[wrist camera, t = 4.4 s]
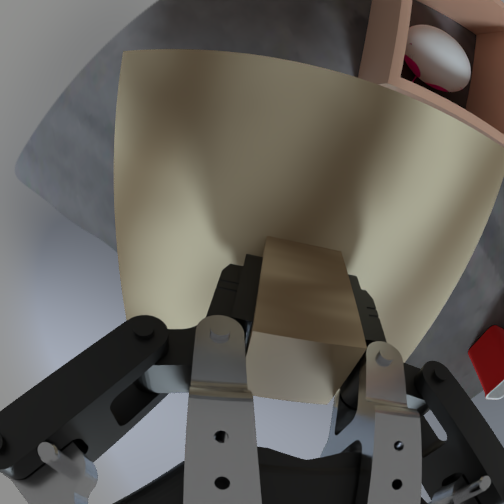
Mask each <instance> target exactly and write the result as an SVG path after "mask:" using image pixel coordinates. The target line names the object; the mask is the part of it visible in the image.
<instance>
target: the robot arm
mask: <svg viewBox="0 0 504 504" xmlns="http://www.w3.org/2000/svg"><path fill="white" fill-rule="evenodd" d="M262 261H263V257H260V256H256V255H251V254H246V257H245V261H244V265H243V266H240V265H235V264H229V265H228V266H227V267H225V268H224V269H223V270H222V272H221V275H220V278H219V281H218V283H217V286H216V289H215V292H214V295H213V298H212V301H211V303H210V306H209V309H208V312H207V315H206V317H205V318H204V319H202V320H201V321H200V322H199V323H198V325H196V326H194V327H191V328H187V329H167V326H166V324H165V323H164V322H163V321H162V320H160V319H159V318H157V317H154V316H150V315H139V316H135V317H132V318H130V319H129V320H127V321H126V322H124V323H123V324H121V325H120V326H118V327H117V328H116V329H115V330H113V331H111V332H110V333H108V334H107V335H106V336H104V337H103V338H101V339H100V340H99V341H97V342H96V343H94V344H93V345H91V346H90V347H89V348H87V349H86V350H84V351H83V352H82V353H80V354H79V355H77V356H76V357H75V358H73V359H72V360H70V361H69V362H68V363H66V364H65V365H63V366H62V367H61V368H59V369H58V370H57V371H55V372H54V373H52V374H51V375H49V376H48V377H47V378H45V379H44V380H42V381H41V382H40V383H38V384H37V385H36V386H34V387H33V388H31V389H30V390H29V391H27V392H26V393H25V394H23V395H22V396H20V397H19V398H18V399H16V400H15V401H14V402H12V403H11V404H10V405H8V406H7V407H6V408H4V409H3V410H2V411H0V472H1V473H3V474H4V475H5V476H7V477H8V478H9V479H11V480H12V481H13V483H14V484H15V486H16V487H17V488H18V490H19V491H20V493H21V494H22V495H23V496H24V498H25V499H26V500H27V502H28V503H29V504H88V498H89V495H90V493H91V491H92V490H93V489H94V487H95V486H96V483H97V480H98V474H97V470H96V467H95V465H94V463H93V462H94V461H95V460H97V459H98V458H99V457H100V456H101V455H102V454H103V453H104V452H106V451H107V450H108V449H109V448H110V447H111V446H113V445H114V444H115V443H116V442H117V441H118V440H119V439H120V438H121V437H123V435H125V434H126V433H127V432H128V431H129V430H130V429H131V428H132V427H133V426H135V425H136V424H137V423H138V422H139V421H140V420H141V419H142V418H143V417H144V416H146V415H147V414H148V413H149V412H150V411H151V410H152V409H153V408H154V407H155V406H156V405H157V404H158V403H159V402H160V401H161V400H162V399H163V398H165V397H166V396H167V395H168V394H169V393H187V392H189V399H188V412H187V427H186V444H185V461H183V462H181V463H180V464H178V465H177V466H175V467H174V468H172V469H171V470H169V471H168V472H166V473H165V474H163V475H161V476H160V477H158V478H157V479H155V480H153V481H152V482H150V483H149V484H147V485H145V486H144V487H142V488H140V489H139V490H137V491H135V492H133V493H131V494H130V495H128V496H126V497H124V498H123V499H121V500H119V501H117V502H115V503H113V504H427V503H426V502H425V501H424V499H423V498H422V497H421V483H422V485H423V486H424V488H425V490H426V491H427V493H428V495H429V497H430V498H431V500H432V501H431V502H429V503H428V504H504V448H503V446H502V445H501V443H500V442H499V440H498V439H497V437H496V435H495V434H494V432H493V431H492V429H491V428H490V426H489V425H488V423H487V422H486V421H485V419H484V418H483V416H482V415H481V413H480V412H479V410H478V409H477V407H476V406H475V405H474V403H473V402H472V401H471V399H470V398H469V396H468V395H467V394H466V392H465V391H464V390H463V388H462V387H461V386H460V384H459V383H458V382H457V380H456V379H455V378H454V376H453V375H452V374H451V372H450V371H449V370H448V369H447V368H446V367H445V366H444V365H443V364H441V363H439V362H436V361H429V362H427V363H426V364H425V365H424V366H423V367H422V368H421V369H419V368H417V367H414V366H411V365H408V364H406V363H403V359H402V356H401V354H400V352H399V351H398V350H397V349H396V348H395V347H394V346H392V345H391V344H389V343H387V341H386V338H385V335H384V331H383V328H382V325H381V322H380V318H378V316H379V315H378V312H377V310H376V306H375V303H374V300H373V298H372V297H371V296H370V295H369V293H368V292H367V291H366V290H362V289H361V287H360V284H359V281H358V278H357V276H355V275H350V274H348V276H349V279H350V283H351V287H352V290H353V294H354V298H355V301H356V305H357V309H358V313H359V317H360V321H361V325H362V329H363V333H364V337H365V342H366V346H367V349H366V350H365V352H364V354H363V355H362V357H361V358H360V360H359V361H358V363H357V364H356V366H355V367H354V369H353V370H352V371H351V373H350V374H349V376H348V377H347V379H346V380H345V381H344V383H343V384H342V386H341V387H340V388H339V390H338V391H337V392H336V394H335V397H334V405H333V412H332V419H331V426H330V432H329V438H328V441H327V444H326V445H325V447H324V449H323V451H322V454H321V457H320V458H316V459H311V460H304V459H300V458H297V457H293V456H290V455H287V454H284V453H281V452H278V451H275V450H272V449H269V448H263V447H257V443H256V442H257V441H256V429H255V416H254V404H253V395H252V391H251V390H248V386H247V372H246V356H245V353H246V349H247V344H248V340H249V336H250V332H251V328H252V324H253V319H254V313H255V307H256V300H257V294H258V287H259V280H260V274H261V267H262ZM430 409H431V411H432V412H433V414H434V415H435V417H436V418H437V420H438V421H439V423H440V424H441V425H442V427H443V429H444V430H445V432H446V434H447V440H446V441H441V440H439V439H438V437H437V436H436V434H435V433H434V431H433V430H432V428H431V427H430V425H429V423H428V422H427V421H426V419H425V417H424V416H423V415H424V414H425V413H427V412H428V411H429V410H430Z"/></svg>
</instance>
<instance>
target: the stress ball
mask: <svg viewBox="0 0 504 504" xmlns="http://www.w3.org/2000/svg"><path fill="white" fill-rule="evenodd" d="M404 60H405V62H406V63H407V65H408V66H409V68H410V69H411V70H412V72H413V73H414V74H415V75H416V76H415V77H414V79H413V81H412V82H414V80H415V79H416V78H417V77H418V78H419V79H420V80H422V81H423V82H424V83H426V84H427V85H429V86H431V87H433V88H435V89H437V90H440V91H444V92H456V91H460V90H462V89H463V88H464V87H465V86H466V85H467V84H468V82H469V80H470V76H471V67H470V63H469V60H468V57H467V55H466V53H465V51H464V50H463V48H462V47H461V46H460V44H459V43H458V42H457V41H456V40H455V39H454V38H453V37H451V36H450V35H449V34H447V33H446V32H444V31H443V30H441V29H439V28H436V27H433V26H429V25H415V26H412V27H410V28H409V31H408V37H407V44H406V50H405V55H404Z"/></svg>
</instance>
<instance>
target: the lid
mask: <svg viewBox="0 0 504 504" xmlns="http://www.w3.org/2000/svg"><path fill="white" fill-rule="evenodd" d="M503 177H504V148H503V147H502V146H500V145H499V144H497V143H496V142H494V141H493V140H491V139H490V138H488V137H486V136H485V135H483V134H482V133H480V132H478V131H477V130H475V129H473V128H471V127H470V126H468V125H466V124H464V123H463V122H461V121H459V120H457V119H455V118H453V117H451V116H449V115H447V114H445V113H444V112H442V111H439V110H437V109H435V108H433V107H431V106H429V105H427V104H425V103H422V102H420V101H418V100H416V99H413V98H411V97H409V96H406V95H404V94H401V93H399V92H396V91H394V90H391V89H389V88H386V87H383V86H380V85H378V84H375V83H372V82H369V81H366V80H363V79H360V78H357V77H354V76H350V75H347V74H344V73H340V72H336V71H333V70H329V69H325V68H321V67H317V66H313V65H309V64H304V63H300V62H295V61H290V60H284V59H279V58H273V57H267V56H260V55H253V54H245V53H236V52H226V51H213V50H194V49H153V50H133V51H123V57H122V64H121V71H120V79H119V87H118V97H117V108H116V122H115V141H114V205H115V225H116V239H117V251H118V260H119V270H120V279H121V286H122V293H123V300H124V307H125V313H126V319H127V320H129V319H130V318H132V317H135V316H139V315H150V316H154V317H157V318H159V319H160V320H162V321H163V322H164V323H165V324H166V326H167V329H187V328H191V327H194V326H196V325H198V323H199V322H200V321H201V320H202V319H204V318H205V317H206V315H207V312H208V309H209V306H210V303H211V301H212V298H213V295H214V292H215V289H216V286H217V283H218V281H219V278H220V275H221V272H222V270H223V269H224V268H225V267H227V266H228V265H229V264H235V265H240V266H243V265H244V261H245V257H246V254H251V255H256V256H260V257H263V261H262V267H261V274H260V280H259V287H258V294H257V300H256V307H255V313H254V319H253V324H252V328H251V332H250V336H249V340H248V344H247V349H246V353H245V356H246V372H247V386H248V390H251V391H252V395H253V396H258V397H265V398H272V399H278V400H286V401H294V402H303V403H313V404H325V405H327V404H328V403H329V402H330V400H331V399H332V398H333V396H334V395H335V394H336V392H337V391H338V390H339V388H340V387H341V386H342V384H343V383H344V381H345V380H346V379H347V377H348V376H349V374H350V373H351V371H352V370H353V369H354V367H355V366H356V364H357V363H358V361H359V360H360V358H361V357H362V355H363V354H364V352H365V350H366V349H367V346H366V342H365V337H364V333H363V329H362V325H361V321H360V317H359V313H358V309H357V305H356V301H355V298H354V294H353V290H352V287H351V283H350V279H349V276H348V274H350V275H355V276H357V278H358V281H359V284H360V287H361V289H362V290H366V291H367V292H368V293H369V295H370V296H371V297H372V298H373V300H374V303H375V306H376V310H377V312H378V315H379V316H378V318H380V322H381V325H382V328H383V331H384V335H385V338H386V341H387V343H389V344H391V345H392V346H394V347H395V348H396V349H397V350H398V351H399V352H400V354H401V356H402V359H403V363H404V362H405V361H406V360H407V359H408V357H409V356H410V355H411V353H412V352H413V351H414V349H415V348H416V347H417V345H418V344H419V342H420V341H421V340H422V338H423V337H424V335H425V334H426V332H427V331H428V330H429V328H430V327H431V325H432V324H433V322H434V321H435V319H436V317H437V316H438V314H439V313H440V311H441V310H442V308H443V306H444V305H445V303H446V302H447V300H448V298H449V297H450V295H451V293H452V291H453V290H454V288H455V286H456V284H457V283H458V281H459V279H460V277H461V275H462V273H463V272H464V270H465V268H466V266H467V264H468V262H469V260H470V258H471V256H472V254H473V252H474V250H475V248H476V246H477V243H478V241H479V239H480V237H481V235H482V232H483V230H484V228H485V225H486V223H487V221H488V218H489V216H490V213H491V211H492V208H493V206H494V203H495V200H496V197H497V195H498V192H499V189H500V186H501V183H502V180H503Z"/></svg>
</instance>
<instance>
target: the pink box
mask: <svg viewBox="0 0 504 504" xmlns="http://www.w3.org/2000/svg"><path fill="white" fill-rule="evenodd" d="M416 1H419V2H421V3H423V4H425V5H427V6H429V7H430V8H432V9H434V10H436V11H438V12H440V13H442V14H443V15H445V16H447V17H449V18H450V19H452V20H454V21H455V22H457V23H459V24H460V25H462V26H463V27H465V28H467V29H468V30H470V31H471V32H473V33H474V34H476V45H475V55H474V63H473V70H472V77H471V83H470V88H469V94H468V99H467V104H466V109H463V108H462V107H460V106H458V105H456V104H455V103H453V102H451V101H449V100H447V99H445V98H444V97H442V96H440V95H438V94H436V93H434V92H432V91H430V90H428V89H426V88H424V87H421V86H419V85H417V84H415V83H413V82H411V81H408V80H406V79H404V78H401V77H400V76H401V71H402V66H403V61H404V55H405V50H406V44H407V37H408V31H409V24H410V16H411V8H412V0H372V3H371V9H370V15H369V21H368V27H367V33H366V38H365V44H364V49H363V54H362V59H361V64H360V69H359V74H358V78H360V79H363V80H366V81H369V82H372V83H375V84H378V85H380V86H383V87H386V88H389V89H391V90H394V91H396V92H399V93H401V94H404V95H406V96H409V97H411V98H413V99H416V100H418V101H420V102H422V103H425V104H427V105H429V106H431V107H433V108H435V109H437V110H439V111H442V112H444V113H445V114H447V115H449V116H451V117H453V118H455V119H457V120H459V121H461V122H463V123H464V124H466V125H468V126H470V127H471V128H473V129H475V130H477V131H478V132H480V133H482V134H483V135H485V136H486V137H488V138H490V139H491V140H493V141H494V142H496V143H497V144H499V145H500V146H502V147H503V148H504V3H503V2H502V1H501V0H416Z"/></svg>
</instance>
